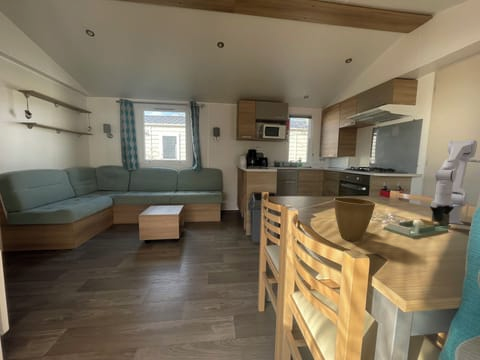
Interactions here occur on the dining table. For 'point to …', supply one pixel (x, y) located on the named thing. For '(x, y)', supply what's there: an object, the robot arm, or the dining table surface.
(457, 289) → the dining table surface
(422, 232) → the green long flat piece
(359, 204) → the plant pot
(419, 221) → the ball
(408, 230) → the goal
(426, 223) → the block ended dumbbell
